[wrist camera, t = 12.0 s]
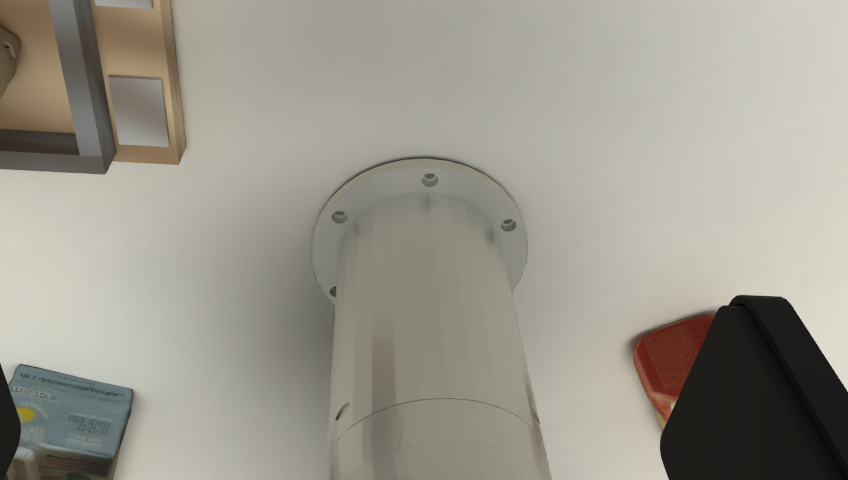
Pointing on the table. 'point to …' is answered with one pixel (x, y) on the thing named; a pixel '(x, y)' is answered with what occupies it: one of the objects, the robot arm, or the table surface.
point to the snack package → (669, 361)
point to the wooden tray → (90, 86)
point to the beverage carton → (67, 426)
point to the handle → (7, 58)
